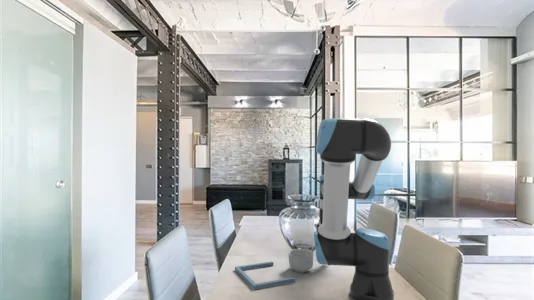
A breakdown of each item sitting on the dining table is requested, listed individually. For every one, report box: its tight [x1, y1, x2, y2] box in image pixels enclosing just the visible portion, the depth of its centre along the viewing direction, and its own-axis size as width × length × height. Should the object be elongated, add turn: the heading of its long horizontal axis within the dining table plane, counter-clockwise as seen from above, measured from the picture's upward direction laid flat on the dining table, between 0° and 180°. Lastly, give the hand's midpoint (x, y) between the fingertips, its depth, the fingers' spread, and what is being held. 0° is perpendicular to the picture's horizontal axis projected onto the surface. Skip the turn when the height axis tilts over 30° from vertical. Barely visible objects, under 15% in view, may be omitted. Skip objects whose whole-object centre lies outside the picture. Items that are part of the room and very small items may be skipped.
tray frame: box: [234, 260, 296, 291], centre depth 132 cm, size 22×18×2 cm
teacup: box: [287, 247, 314, 273], centre depth 141 cm, size 14×11×8 cm
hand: (327, 259), depth 147 cm, fingers closed
